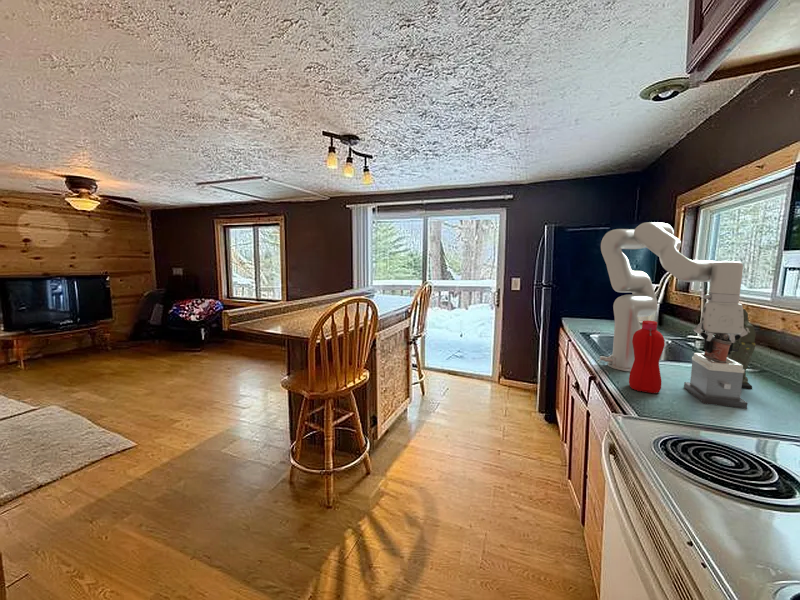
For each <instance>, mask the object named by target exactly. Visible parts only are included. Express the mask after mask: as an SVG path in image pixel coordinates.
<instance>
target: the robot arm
mask: <svg viewBox="0 0 800 600" xmlns="http://www.w3.org/2000/svg"><path fill="white" fill-rule="evenodd" d="M674 233H675V232H674V228H673V227H672V226H671V224H669V223H665V222H655V221H654V222H652V221H651V222H650V221H649V222H642V223H640V224H639V225H638V226H636V227H635V228H630V229H629V228H616V229H612V230H611V229H610V230H609V231H607V232H606V233H605V234H604V235H603V237H602V240H601V241H600V251H601V254H602V257H603V260H604V262H605V264H606V265H605V266H606V269H607V273H608V277H609V281H610V284H611V287H612V289H613V290H614V291H615V292H617V293H622V294H623V293H632V294H624V295H621V296H618V297H617V298H616V299H615V300H614V302H613V305H612V307H613V316H614V328H613V330H614V332H613V344H612V354H610V355H609V356H605V355H600V356H599V360H600V361H602V362H605V363H607V366H608V367H610V368H612V369H614V370H618V371H624V372H630V371H631V369H632V366H633V363H634V360H635V359H634V349H633V343H632V340H633V335H634V333H635V332H636V331H638V330H640V329H642V325H641V323H640V320H639V317H641V318H642V317H650V316H652V315H654V314H656V312H657V310H658V306H659V305H658V299H657V296H656V293H655V289H654V286H653V283H652V280H651V277H650V276H649V275H648V274H647V273H646V272H644V271H642V270H633V269H632V268H631V264H630V260H629V259H628V257H627V255H626V254H625V253H624V252H623V250H641V249H646V248H647V249H648V250H649V251H651V252H652V254H654V255H656V256H657V257H659V262H660V264H661V266H662V268H663V269H664V270H665V271H666V272H668V273H670V275H672V276H673V277H675V278H676V279H677V280H679V281H682V282H685V283H708V282H709V290H708V293H707V294H703V299H704V300H705V299H706V300H707V301H706V302H705V303H704V305H703V309H702V312H701V316H700V322H698V324H697V325H696V326H695V327H694V328H693V329H692V330H693V331H694V332H695V333H696V334H698V336H699V335H700V337H701V338H702V339H703V340H704V342H703V343H704V345H703V349H704V352H705V351H706V352H708V353H712V347H713V342H712V337H713V336H714V335H715V334H714V333H721V334H728V335H729V338H728V339H727V340H728V341H730V342H732V343H731V345H730V348H729V351H728V354H731V352H732V351H733V343H734V342H735V341H736V340H738V339H739V338H740V337H743V336H745V335H747V334H748V333H747V331H746V330H745V329H744V327H743V325H744V315H743V309H744V307H743V303H740V296H741V289H742V288H741V287H742V281H743V280H742V279H743V272H744V265H743V263H742V262H741V261H734V260H731V261H730V260H729V261H728V260H721V261H720V260H718V261H715V260H706V259H704V260H702V259H700V260H699V259H693V260H692V259H690V258H688V257H686V256H685V255H684V254H682V253H681V252H680V251H679V250H680V248H681V247H682V241H681V240H680V239H679V238H678V237H677V236H675V235H674ZM704 331H705V332H704Z"/></svg>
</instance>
